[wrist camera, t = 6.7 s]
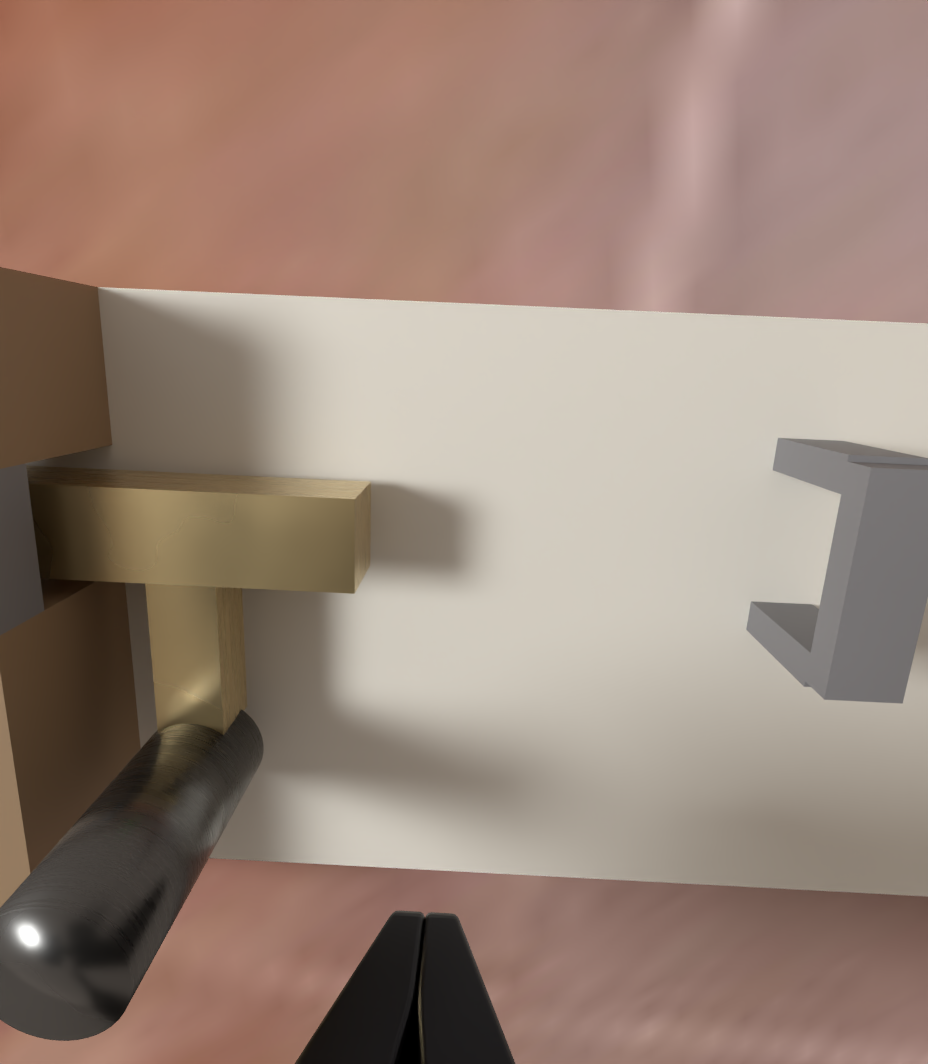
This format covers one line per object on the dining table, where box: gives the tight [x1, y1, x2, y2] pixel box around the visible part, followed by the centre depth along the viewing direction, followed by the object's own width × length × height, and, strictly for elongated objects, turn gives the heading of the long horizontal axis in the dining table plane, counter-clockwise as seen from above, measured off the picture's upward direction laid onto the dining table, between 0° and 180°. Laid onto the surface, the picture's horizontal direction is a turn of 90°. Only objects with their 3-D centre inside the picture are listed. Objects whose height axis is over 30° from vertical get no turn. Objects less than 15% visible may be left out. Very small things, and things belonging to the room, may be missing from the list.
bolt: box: [0, 466, 371, 1041], centre depth 10 cm, size 6×10×6 cm, turn 88°
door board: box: [0, 267, 928, 907], centre depth 12 cm, size 12×24×6 cm, turn 88°
